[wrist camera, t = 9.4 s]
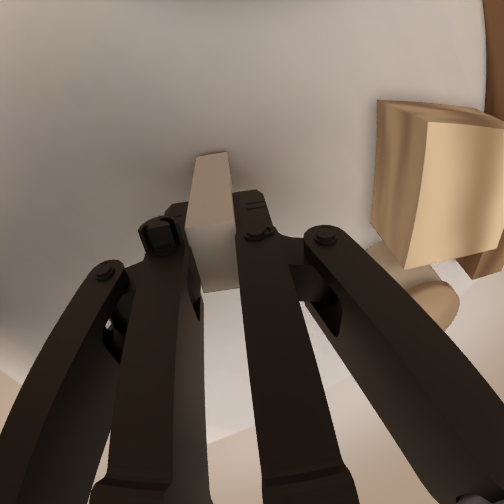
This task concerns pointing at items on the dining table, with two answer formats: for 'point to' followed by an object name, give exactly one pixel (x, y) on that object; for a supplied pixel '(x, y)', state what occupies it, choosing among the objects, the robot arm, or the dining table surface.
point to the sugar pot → (420, 285)
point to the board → (499, 106)
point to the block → (437, 181)
